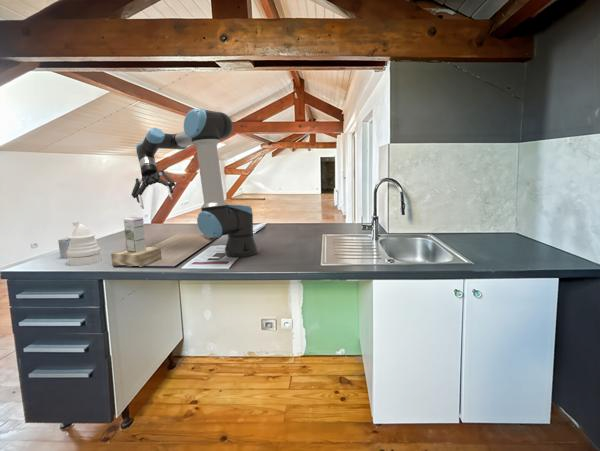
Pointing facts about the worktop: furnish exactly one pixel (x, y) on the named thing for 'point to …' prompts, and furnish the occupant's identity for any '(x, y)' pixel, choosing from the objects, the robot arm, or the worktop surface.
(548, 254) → the worktop surface
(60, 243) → the medicine box
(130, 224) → the syrup box
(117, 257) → the birch block
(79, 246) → the honey pot
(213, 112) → the robot arm
